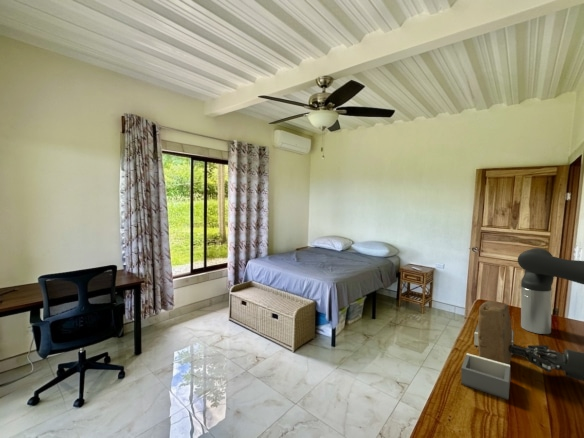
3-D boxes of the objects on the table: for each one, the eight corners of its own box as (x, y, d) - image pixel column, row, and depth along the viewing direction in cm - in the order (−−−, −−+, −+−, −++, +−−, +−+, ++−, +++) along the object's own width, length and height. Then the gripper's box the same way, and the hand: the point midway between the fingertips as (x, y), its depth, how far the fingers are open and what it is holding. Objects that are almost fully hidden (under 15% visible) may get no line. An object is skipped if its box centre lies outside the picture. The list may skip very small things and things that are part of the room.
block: (503, 374, 85) (502, 310, 84) (476, 363, 91) (474, 304, 90) (515, 361, 91) (514, 302, 91) (489, 352, 98) (488, 296, 97)
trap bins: (478, 335, 110) (478, 323, 109) (513, 343, 103) (513, 330, 102) (461, 384, 82) (461, 367, 81) (508, 400, 74) (508, 382, 74)
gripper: (592, 393, 72) (508, 369, 83) (584, 369, 82) (510, 351, 94) (593, 366, 72) (508, 345, 83) (584, 345, 82) (510, 329, 93)
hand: (509, 348), depth 88 cm, fingers closed
